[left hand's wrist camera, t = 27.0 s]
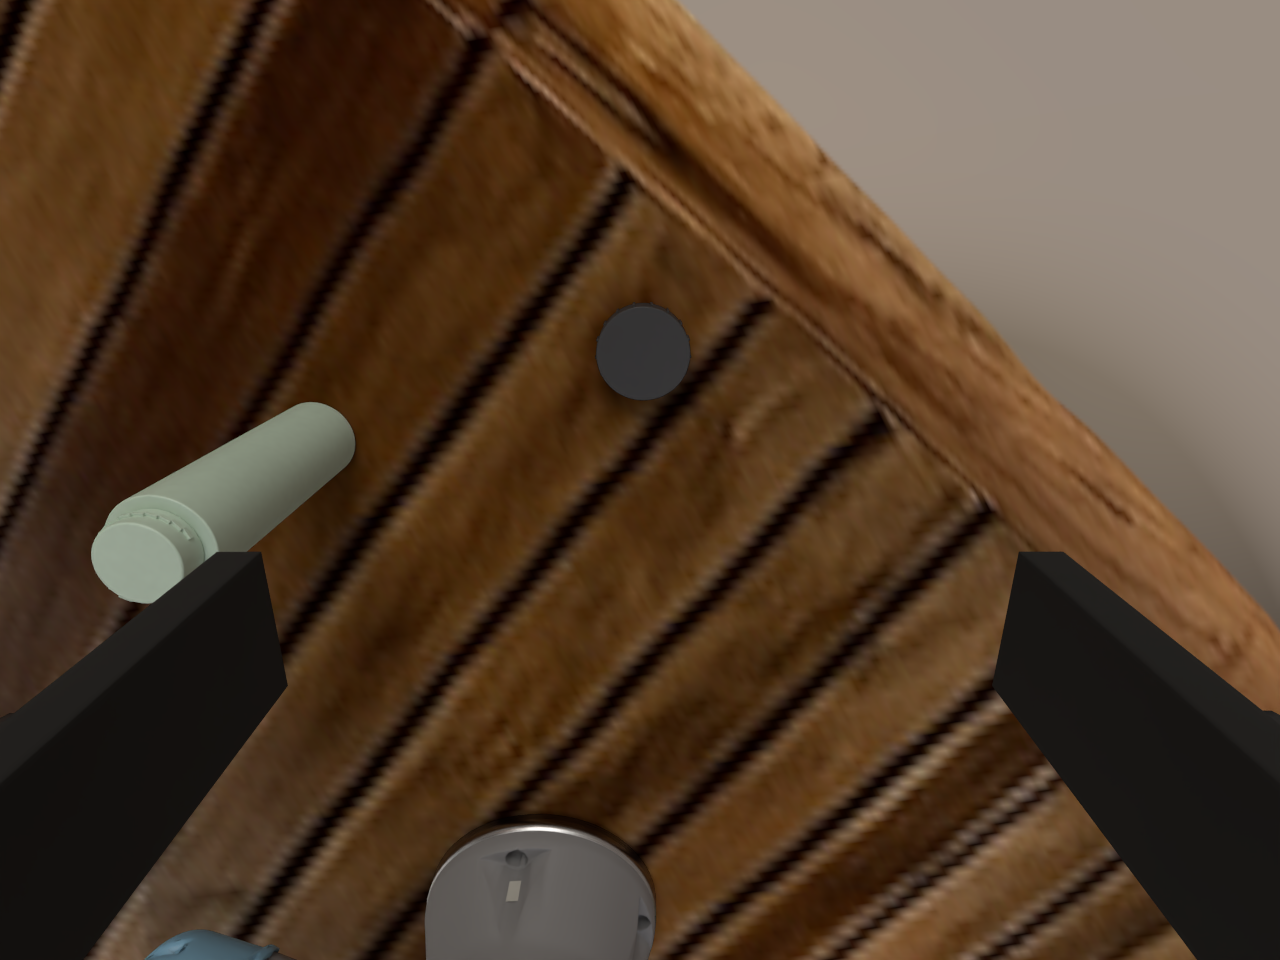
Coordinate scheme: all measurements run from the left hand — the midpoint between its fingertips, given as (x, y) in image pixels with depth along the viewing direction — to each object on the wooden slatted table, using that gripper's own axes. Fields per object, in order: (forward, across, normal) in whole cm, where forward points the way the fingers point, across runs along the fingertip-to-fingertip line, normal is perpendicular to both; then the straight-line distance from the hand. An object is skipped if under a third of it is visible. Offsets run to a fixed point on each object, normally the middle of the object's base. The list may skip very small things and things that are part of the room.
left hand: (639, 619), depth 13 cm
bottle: (+26, +17, +4) cm, 31 cm away
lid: (+24, 0, 0) cm, 24 cm away
